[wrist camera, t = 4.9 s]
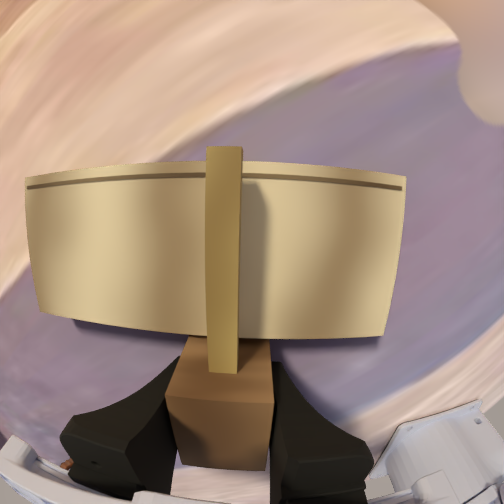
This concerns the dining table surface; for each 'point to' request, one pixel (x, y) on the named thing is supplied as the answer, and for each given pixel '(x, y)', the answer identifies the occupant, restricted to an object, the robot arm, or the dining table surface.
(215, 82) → the dining table surface
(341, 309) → the board
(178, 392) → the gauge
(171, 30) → the dining table surface
